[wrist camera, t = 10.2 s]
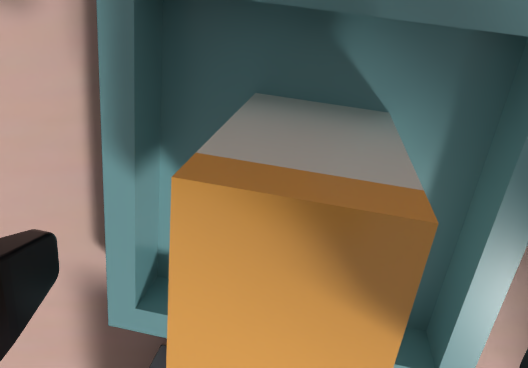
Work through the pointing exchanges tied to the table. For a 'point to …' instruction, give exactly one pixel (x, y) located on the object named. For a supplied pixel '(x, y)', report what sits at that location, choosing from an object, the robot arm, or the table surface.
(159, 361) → the board
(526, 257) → the table surface
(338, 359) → the block
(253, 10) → the teal tray
